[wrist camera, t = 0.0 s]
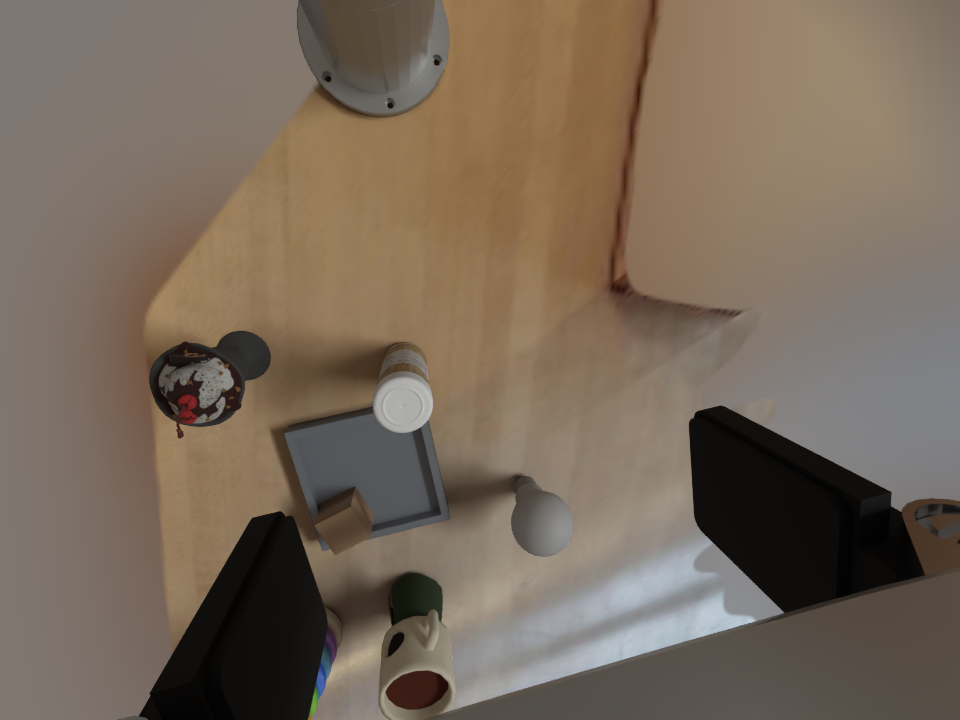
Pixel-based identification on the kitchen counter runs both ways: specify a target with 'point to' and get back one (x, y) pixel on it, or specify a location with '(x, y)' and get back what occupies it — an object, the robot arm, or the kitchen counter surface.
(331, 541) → the walnut block
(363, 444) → the slate tray
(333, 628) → the stacking toy
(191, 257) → the kitchen counter surface
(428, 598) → the character mug
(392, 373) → the sprinkles bottle
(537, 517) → the lightbulb
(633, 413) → the kitchen counter surface
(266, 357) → the sundae
